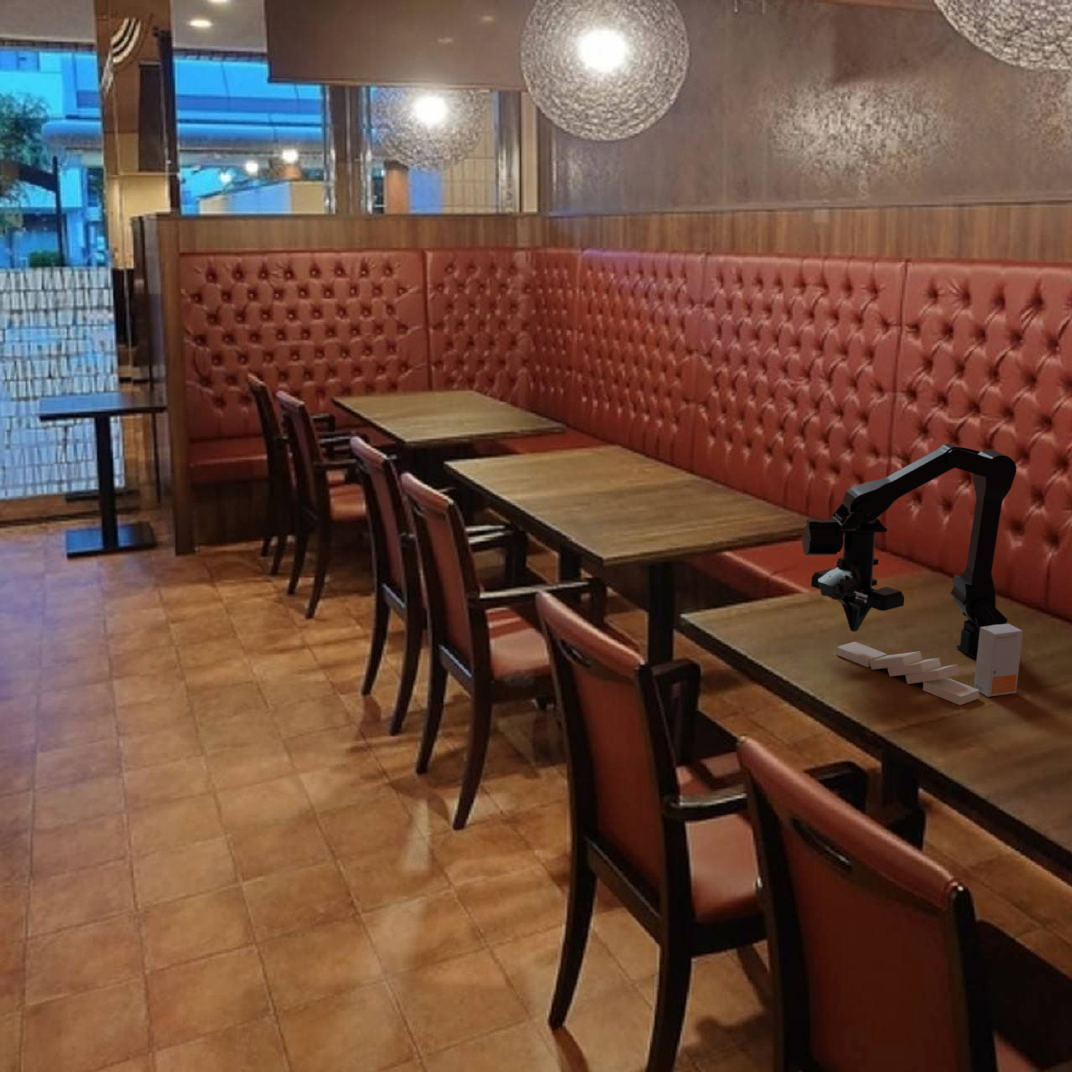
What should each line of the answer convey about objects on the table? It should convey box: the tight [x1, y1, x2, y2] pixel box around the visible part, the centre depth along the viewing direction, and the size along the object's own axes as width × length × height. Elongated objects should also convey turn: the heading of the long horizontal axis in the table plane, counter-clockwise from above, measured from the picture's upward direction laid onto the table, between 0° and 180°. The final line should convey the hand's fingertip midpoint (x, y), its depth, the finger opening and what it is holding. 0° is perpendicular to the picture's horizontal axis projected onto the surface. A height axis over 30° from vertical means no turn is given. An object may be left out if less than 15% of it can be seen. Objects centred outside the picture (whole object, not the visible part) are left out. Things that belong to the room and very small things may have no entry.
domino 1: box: [835, 641, 888, 668], centre depth 218 cm, size 2×5×8 cm
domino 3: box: [887, 657, 942, 677], centre depth 208 cm, size 2×5×8 cm
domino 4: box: [904, 664, 961, 685], centre depth 204 cm, size 2×5×8 cm
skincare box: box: [973, 623, 1024, 698], centre depth 201 cm, size 6×4×12 cm
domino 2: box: [870, 650, 923, 670], centre depth 211 cm, size 2×5×8 cm
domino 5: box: [922, 677, 980, 706], centre depth 201 cm, size 2×5×8 cm
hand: (853, 631), depth 219 cm, fingers closed
